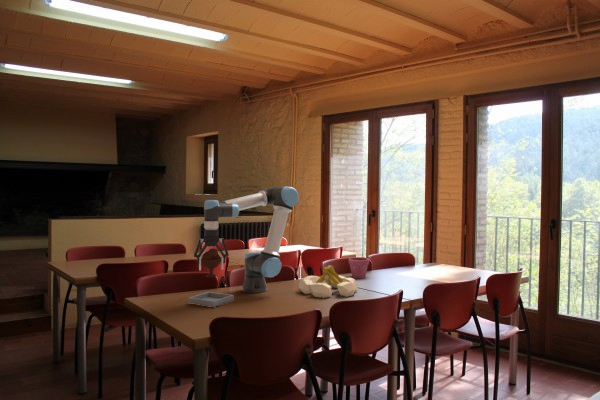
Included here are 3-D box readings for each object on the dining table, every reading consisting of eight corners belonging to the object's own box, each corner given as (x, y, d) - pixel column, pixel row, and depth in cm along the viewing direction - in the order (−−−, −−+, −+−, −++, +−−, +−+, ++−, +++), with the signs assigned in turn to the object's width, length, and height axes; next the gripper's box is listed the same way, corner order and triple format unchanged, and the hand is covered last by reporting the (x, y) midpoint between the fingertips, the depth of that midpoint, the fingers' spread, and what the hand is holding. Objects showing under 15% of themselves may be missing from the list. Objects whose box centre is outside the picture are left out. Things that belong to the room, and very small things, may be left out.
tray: (233, 301, 269) (233, 295, 269) (213, 308, 254) (213, 301, 254) (209, 297, 278) (209, 291, 277) (188, 304, 263) (188, 297, 263)
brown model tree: (222, 274, 271) (222, 247, 271) (219, 278, 260) (219, 249, 260) (202, 274, 271) (203, 247, 271) (199, 278, 260) (199, 249, 259)
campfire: (309, 300, 275) (309, 269, 275) (292, 288, 308) (292, 260, 307) (367, 296, 285) (367, 267, 284) (345, 285, 317) (345, 258, 317)
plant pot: (358, 274, 355) (358, 256, 354) (373, 277, 344) (373, 258, 344) (344, 276, 346) (344, 258, 345) (359, 279, 335) (359, 260, 334)
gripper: (189, 229, 258) (189, 271, 259) (234, 229, 264) (234, 270, 265) (188, 228, 265) (188, 269, 266) (232, 228, 272) (232, 267, 272)
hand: (211, 269), depth 265 cm, fingers closed on brown model tree, 11 cm apart
